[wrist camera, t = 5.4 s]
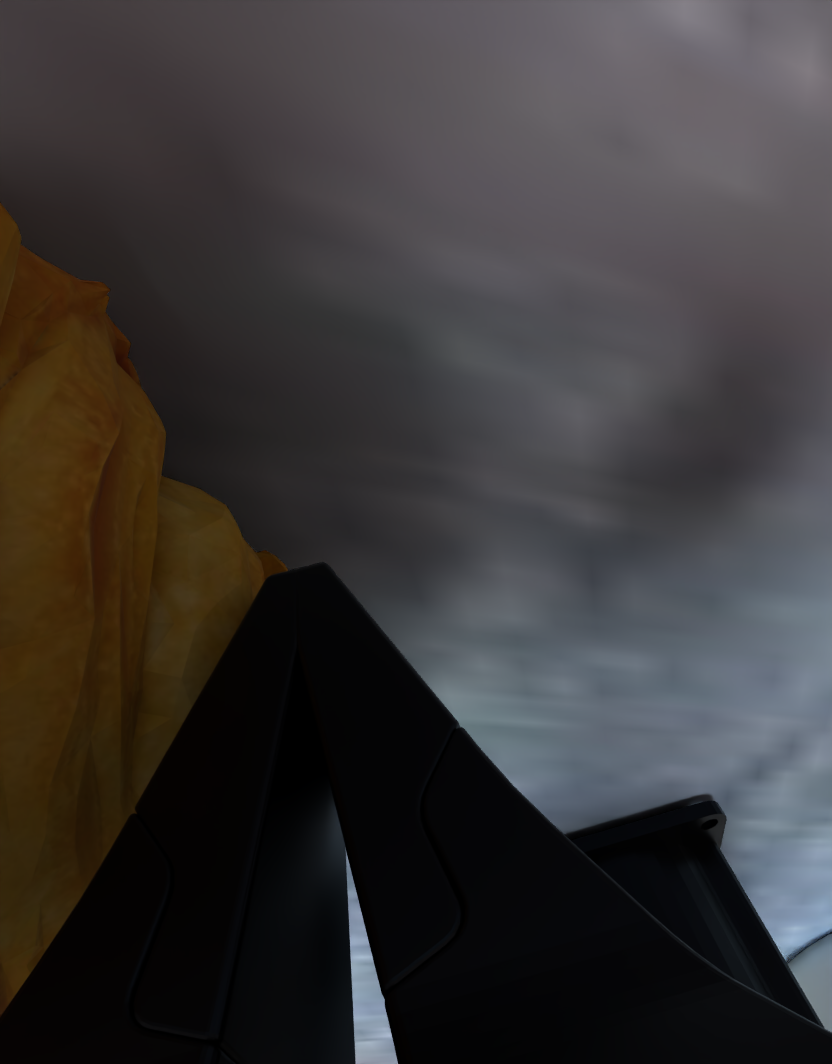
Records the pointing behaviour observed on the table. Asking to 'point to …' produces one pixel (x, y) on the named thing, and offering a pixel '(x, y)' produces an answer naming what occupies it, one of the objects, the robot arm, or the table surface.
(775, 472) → the table surface
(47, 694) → the croissant
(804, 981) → the white bottle
